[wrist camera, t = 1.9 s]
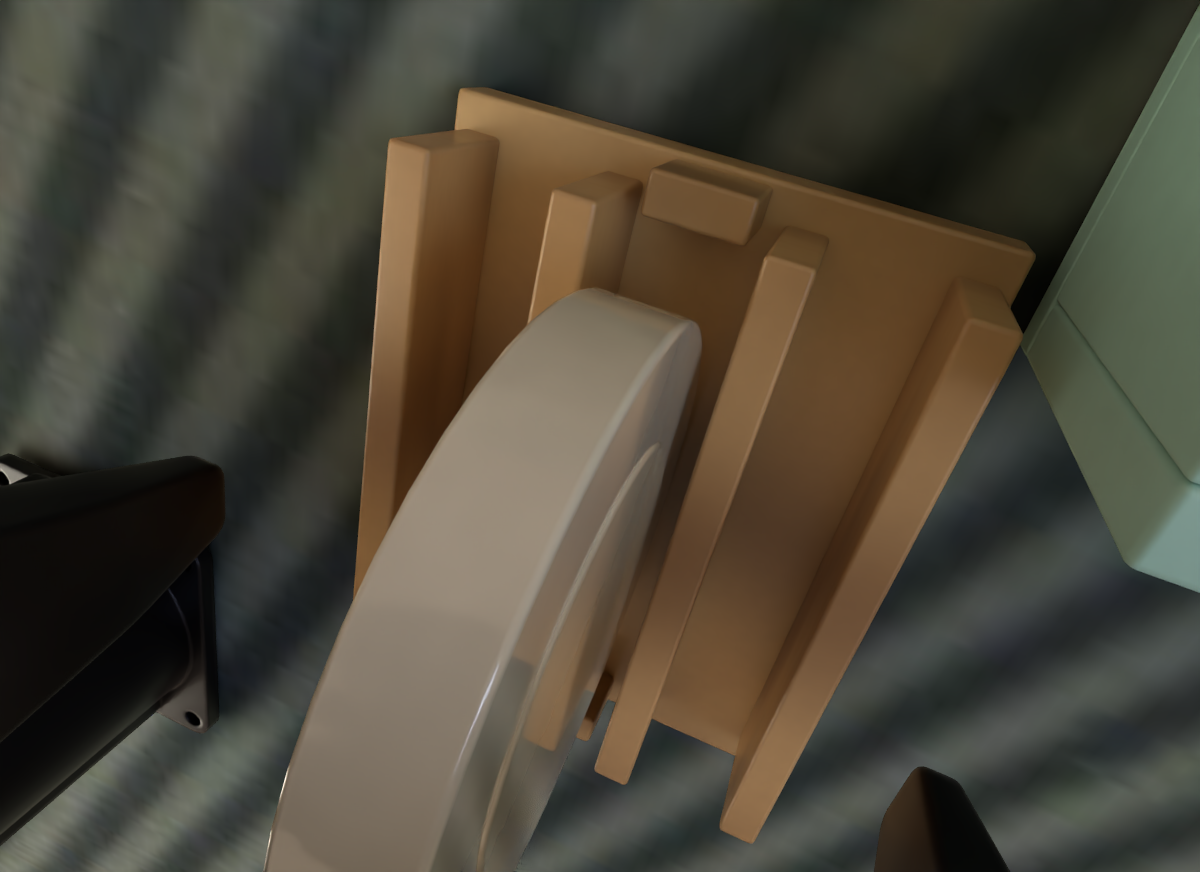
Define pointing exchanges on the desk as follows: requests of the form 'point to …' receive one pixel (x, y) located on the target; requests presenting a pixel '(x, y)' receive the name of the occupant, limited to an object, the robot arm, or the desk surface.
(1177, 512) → the mint green open box
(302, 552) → the desk surface
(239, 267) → the desk surface
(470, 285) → the dish rack
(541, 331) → the plate
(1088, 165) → the desk surface
